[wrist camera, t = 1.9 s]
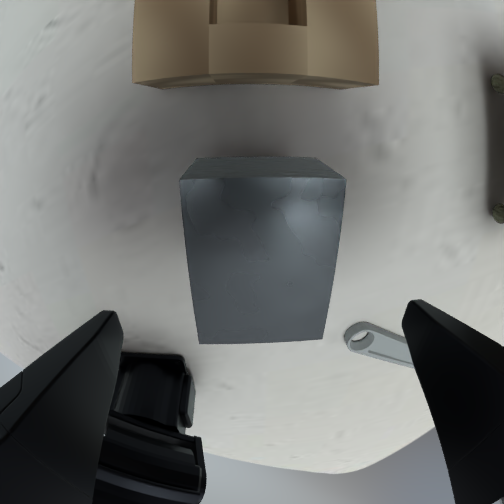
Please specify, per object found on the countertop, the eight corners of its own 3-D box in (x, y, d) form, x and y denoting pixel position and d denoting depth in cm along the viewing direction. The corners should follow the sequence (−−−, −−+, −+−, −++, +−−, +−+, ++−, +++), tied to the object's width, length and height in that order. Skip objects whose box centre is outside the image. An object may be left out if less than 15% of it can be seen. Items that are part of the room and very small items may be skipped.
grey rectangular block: (212, 254, 19) (199, 344, 12) (206, 146, 16) (179, 180, 9) (292, 252, 19) (322, 339, 12) (298, 146, 16) (346, 179, 9)
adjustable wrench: (335, 335, 24) (340, 350, 22) (386, 280, 21) (395, 293, 20) (452, 384, 31) (457, 393, 29) (485, 353, 28) (491, 361, 27)
